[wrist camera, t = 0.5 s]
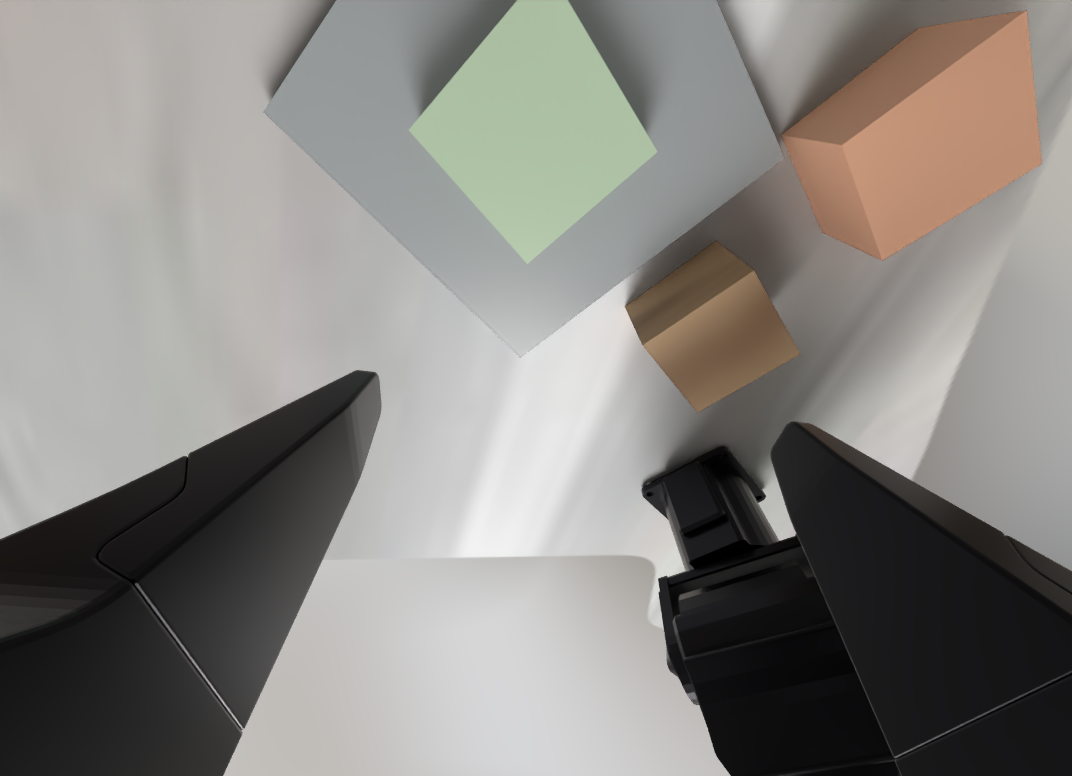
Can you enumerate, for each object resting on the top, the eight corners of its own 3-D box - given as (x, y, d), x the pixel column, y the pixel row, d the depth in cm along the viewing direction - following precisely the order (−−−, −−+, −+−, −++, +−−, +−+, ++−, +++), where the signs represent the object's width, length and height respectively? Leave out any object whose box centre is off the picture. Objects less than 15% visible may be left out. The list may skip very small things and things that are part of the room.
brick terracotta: (943, 149, 17) (1042, 163, 14) (820, 231, 19) (882, 260, 16) (915, 28, 15) (1027, 10, 11) (779, 134, 17) (841, 145, 13)
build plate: (774, 155, 17) (813, 165, 15) (520, 349, 22) (519, 379, 20) (562, -323, 10) (573, -438, 8) (274, 111, 16) (231, 114, 13)
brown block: (758, 314, 21) (800, 354, 18) (673, 367, 23) (697, 412, 20) (714, 239, 19) (753, 270, 16) (624, 305, 21) (642, 345, 18)
